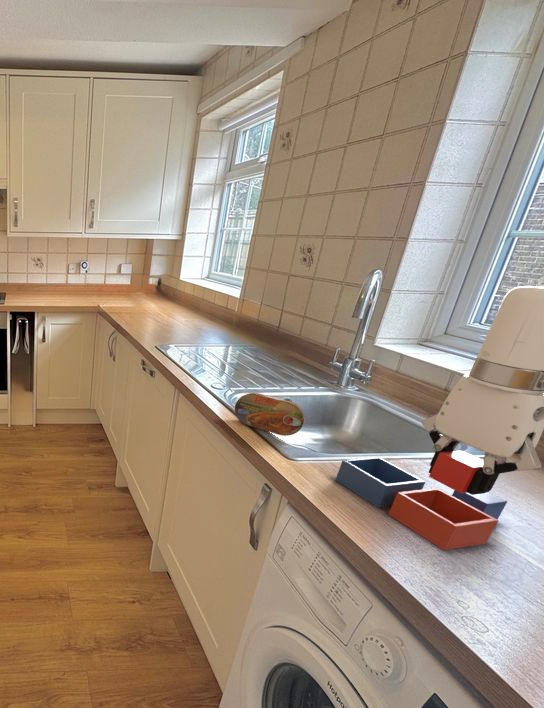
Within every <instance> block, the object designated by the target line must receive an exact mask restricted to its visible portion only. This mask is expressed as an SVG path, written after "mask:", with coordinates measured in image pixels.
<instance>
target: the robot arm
mask: <svg viewBox="0 0 544 708" xmlns="http://www.w3.org/2000/svg"><path fill="white" fill-rule="evenodd" d="M421 424H422V426H423V428H425V430H426V432H428V433H429V438H430V440H431V441H432V444H433V446H432V448H433V450H434V451H435V452H434V454H433V457H432V458H431V461H430V462H429V466H430V468H429V470H428V473H429V474H430V473H431V471H432V468H433V466H434V464H435V462H436V460H437V458H438V455H439V453H440V452H451V451H455V448H457V446H458V445H460V443H462V444H464V445H467V446H469V447H472V448H474V449H476V450H479V451H481V452H483V453H484V457H483V460H484V464H483V469H482V470H478V471H476V473H475V475H474V477H473V479H472V481H471V483H470V485H469V487H468V489H467V493H469V494H471V495H474V494H483V493H486V492H489V493H490V492H491V491H492V489H493V488H494V486H495V484H496V482H497V480H498V478H499V476H500V474H506V473H510V472H519V471H521V472H522V471H535V470H540V469H542V466H543V465H542V462H541V460H540V458H539V455H538V453H537V450H536V447H537V446H538V443H539V441H540V438H541V437H542V434H543V431H544V286H535V285H533V286H532V285H525V286H524V285H523V286H516V287H514V288H512V289H510V290H509V291H508V292H507V293H506V294H505V295H504V297H503V299H502V301H501V303H500V306H499V308H498V310H497V312H496V314H495V316H494V319H493V321H492V323H491V325H490V327H489V329H488V332H487V333H486V336H485V338H484V341H483V343H482V345H481V347H480V350H479V352H478V354H477V356H476V358H475V361H474V363H473V366H472V368H471V370H470V372H469V373H468V374H464V375H462V376H461V378H459V380H458V381H457V383H456V384H455V385H454V386H453V388H452V389H451V390H450V392H449V394H448V396H447V397H446V398H445V400H444V402H443V403H442V406H441V408H439V411H438V413H436V414H433V415H432V416H430V417H427V418H425V419H423V420H422V421H421ZM513 455H515V456H518V457H519V461H509V459H510V458H511V457H512V456H513Z"/></svg>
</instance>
